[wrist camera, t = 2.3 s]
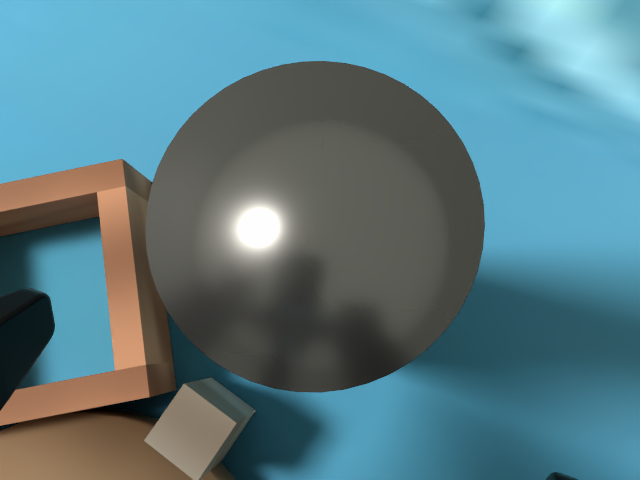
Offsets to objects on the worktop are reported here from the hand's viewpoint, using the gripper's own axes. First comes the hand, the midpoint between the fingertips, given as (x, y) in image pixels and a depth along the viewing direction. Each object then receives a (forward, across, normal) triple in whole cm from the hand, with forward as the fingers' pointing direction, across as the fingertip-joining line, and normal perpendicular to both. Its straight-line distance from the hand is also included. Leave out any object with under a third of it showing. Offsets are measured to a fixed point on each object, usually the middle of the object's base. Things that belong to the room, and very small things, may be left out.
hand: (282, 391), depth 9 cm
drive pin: (+9, 0, +5) cm, 10 cm away
